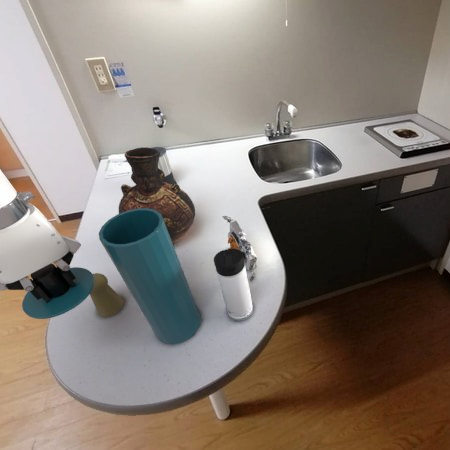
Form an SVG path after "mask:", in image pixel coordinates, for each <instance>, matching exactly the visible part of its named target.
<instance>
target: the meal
mask: <svg viewBox="0 0 450 450" xmlns="http://www.w3.org/2000/svg"><path fill="white" fill-rule="evenodd" d="M222 218H223V220H225V221H226V223H229V232H228V233H227V238H228V239H227V244H229V246H230V247H229V248H227V249H238V250H240V251H241V252H242V254H243V258H244V262H245V267H246V270H247V271H248V272H251V273H252V275H251V277H250V279H249V280H250V281H252V280H253V279H254V278H256V275H255V272H256V273H257V270H256V268H257V260H258V256H257V255H256V252H255V251H254V248H253V247H252V244H251V242H250V241H249V240H248V239H246V233H245V232H244V229H242V228H241V226H240V224H239V223H238V221H237V220H234V219H232V218H231V217H230V216H227V215H224V216H222ZM250 257H252V259H251V258H250ZM255 270H256V271H255Z"/></svg>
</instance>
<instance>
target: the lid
mask: <svg viewBox="0 0 450 450" xmlns="http://www.w3.org/2000/svg"><path fill="white" fill-rule="evenodd" d="M56 267H57V266H56V264H55V263H51V264H49V265H47V266H45V267H43V268H41V269H39V270H37V271H35V272H33V273H32V274H30V279H32V280H34V281H35V282H36V283H37V285H38V286H39V287H40V288H41V289H42V290H43V291H44V292H45V293H46V295H47V296H48V297H49V298H50V301H49V302H48V303H46V302H45V301H44V300H43V298H41V299H39V300H37V299H36V298H35V297H34V296H33V295H32V294H31V292H30V291H28V292H27V291H26V294H25V295H24V297H23V299H22V304H21V308H22V311H23V312H24V313H25V315H26V316H28V317H29V318H32V319H35V320H47V319H51V318H55V317H56V318H57V317H59V316H62V315H64V314H66V313H69V312H71V311H72V310H73V309H75V308H77V307H78V306H79V305H81V304H82V303H83V302H84V301H85V300H86V299H87V298H88V297H89V296H90V293H91V291H92V289H93V287H94V284H95V279H94V276H93V274H94V273H92V271H90V270H89V269H87V268H84V267H80V266H79V267H77V266H76V267H75V266H74V267H70V270H71V272H72V273H73V274H74V276H75V277H76V279H74V280H72V281H73V282H74V283H75V284H76V286H75V287H71V286H70V284H69V283H68V282H67V281H66V279H65V278H64V277H63V276H62V274H61V273H60V272H59V270H58V269H57V268H56Z"/></svg>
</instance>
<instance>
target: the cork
mask: <svg viewBox="0 0 450 450" xmlns="http://www.w3.org/2000/svg"><path fill="white" fill-rule="evenodd" d="M92 274H93V276H94V279H95V284H94V287H93V289H92V291H91V293H90V294H89V296H90V299H91V300H92V303H93V305H94V307H95V309H96V312H97V314H98V315H99V316H100V317H102V318H108V317H112V316H115V315H117V314H118V313H119V312H120V311H121V310H122V309H123V308H124V305H125V302H124V301H125V300H124V299H123V298H122V297H121V295H119V294H118V293H117V292H116V291H115V290H114V288H112V286H110V284H109V281H108V277H107V276H105V275H104V274H103V273H101V272H100V273H99V272H96V273H92Z"/></svg>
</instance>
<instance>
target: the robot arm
mask: <svg viewBox="0 0 450 450" xmlns="http://www.w3.org/2000/svg"><path fill="white" fill-rule="evenodd" d="M33 199H36V197H35V194H33V193H32V191H31V190H27V191H22V192H20V190H19V191H17V190H16V189H15V187H14V186H13V185H12V183H11V182H10V180H9V179H8V178H7V176H5V173H3V170H2V169H0V292H3V291H7V290H8V291H25V292H26V293H27V292H28V291H30V292H31V294H32V295H33V296H34V297H35V298H36V299H37V300H39V299H41V298H43V300H44V301H45V302H46V303H48V302H49V301H50V298H49V297H48V296H47V295H46V293H45V292H44V291H43V290H42V289H41V288H40V287H39V286H38V285H37V283H36V282H35V281H34V280H33V279H32V278H30V277H29V275H30V276H31V274H32V273H33V272H35V271H37V270H39V269H41V268H43V267H45V266H47V265H49V264H54V265H55V267H56V268H57V269H58V270H59V272H60V273H61V274H62V276H63V277H64V278H65V279H66V281H67V282H68V283H69V284H70V286H71V287H75V286H76V284H75V283H74V282H73V281H72V280H74V279H76V277H75V276H74V274H73V273H72V272H71V270H70V268H71V263H72V261H73V259H74V257H75V254H76V253H77V252H78V250H80V248H81V246H82V244H81V243H80V241H78V240H77V239H74V238H71V237H68V236H65V235H63V234H60V233H59V231H58V230H57V228H56V227H55V226H54V225H53V224H52V223H51V222H50V220H49V219H48V218H47V217H46V216H45V215H44V213H42V211H40V210H39V208H37V207H36V206H35V205H34V204H33V203H31V200H33Z"/></svg>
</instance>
